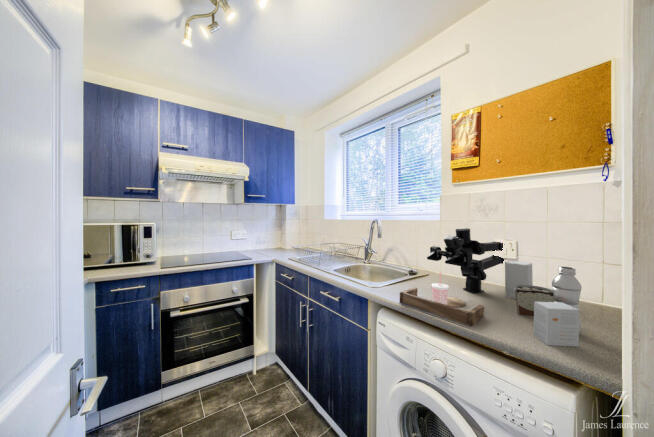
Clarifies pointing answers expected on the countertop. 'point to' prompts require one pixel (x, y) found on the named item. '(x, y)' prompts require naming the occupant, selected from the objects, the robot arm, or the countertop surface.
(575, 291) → the plastic bottle
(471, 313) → the walnut bay
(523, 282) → the skincare box
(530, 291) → the food container
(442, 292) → the beverage cup
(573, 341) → the small box
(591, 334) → the countertop surface
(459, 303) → the cork coaster
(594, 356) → the countertop surface
